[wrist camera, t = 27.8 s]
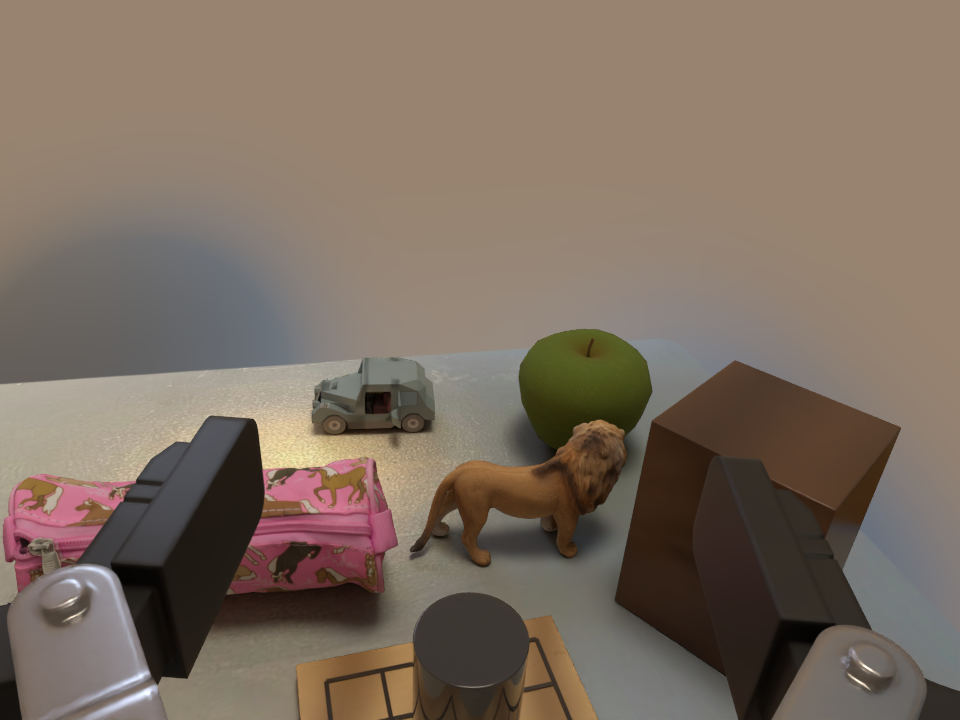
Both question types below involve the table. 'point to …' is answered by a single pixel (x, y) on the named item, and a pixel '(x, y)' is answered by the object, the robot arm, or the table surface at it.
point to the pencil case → (272, 550)
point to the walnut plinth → (749, 434)
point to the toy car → (376, 397)
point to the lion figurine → (533, 489)
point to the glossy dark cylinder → (469, 660)
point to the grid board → (388, 676)
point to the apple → (582, 383)
